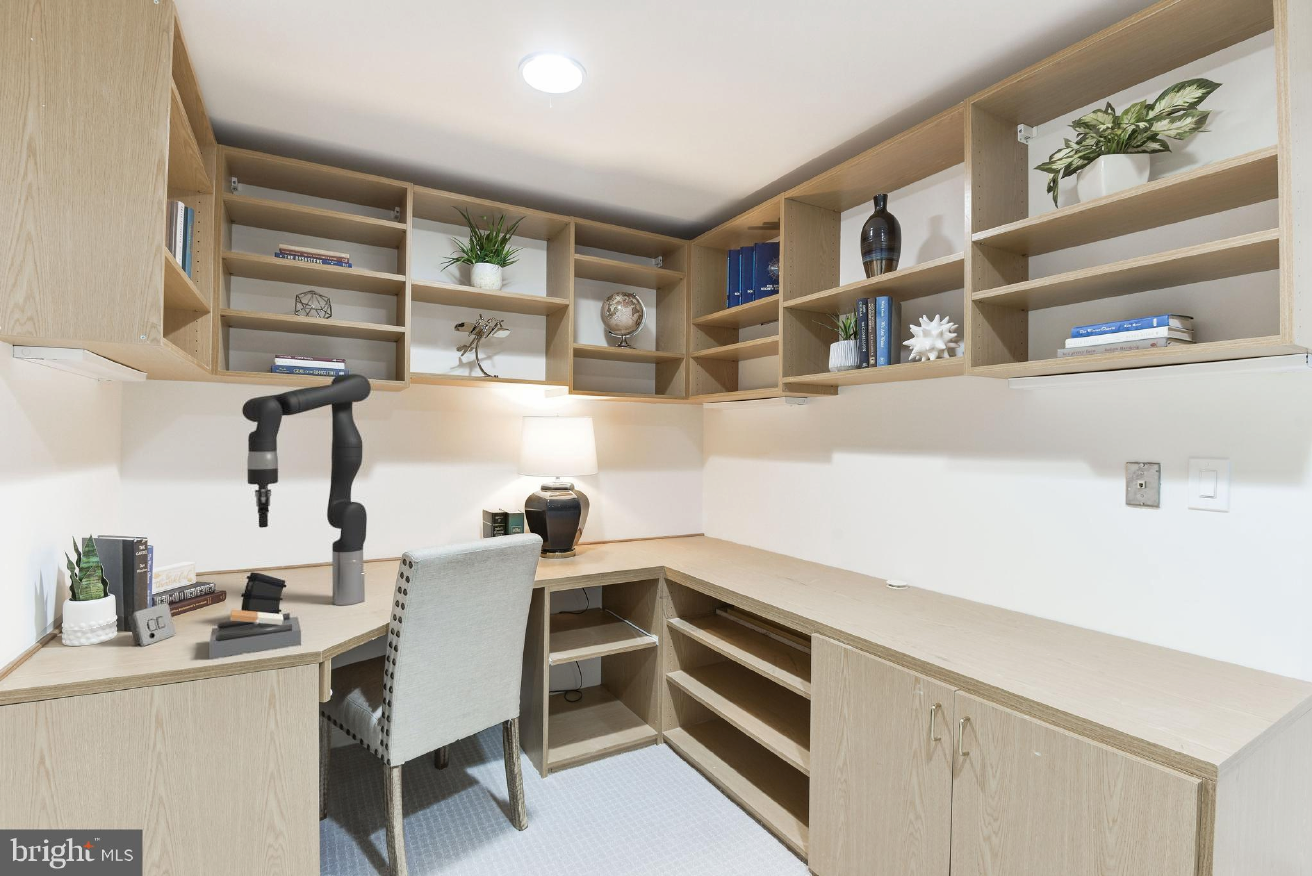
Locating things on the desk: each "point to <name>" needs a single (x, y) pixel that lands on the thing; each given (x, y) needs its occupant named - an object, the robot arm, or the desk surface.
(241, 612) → the breaker rocker
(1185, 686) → the desk surface
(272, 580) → the magazine
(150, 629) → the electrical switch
